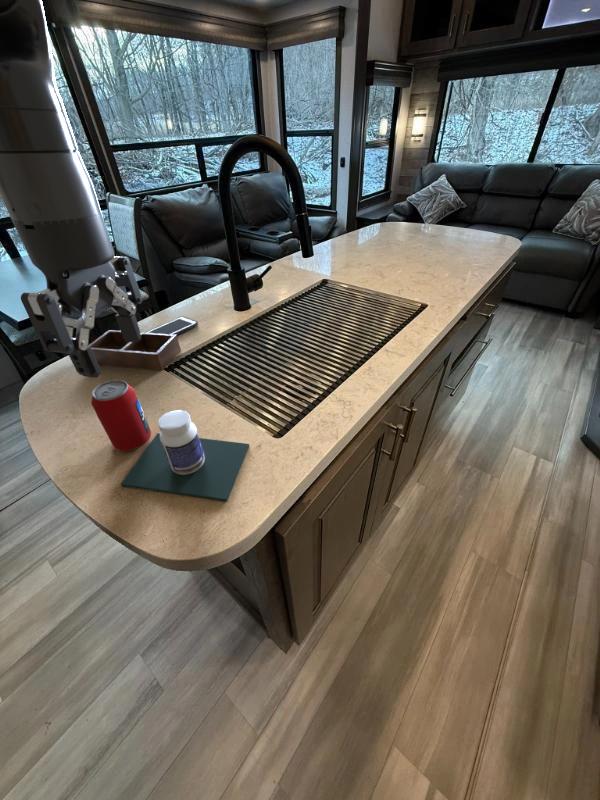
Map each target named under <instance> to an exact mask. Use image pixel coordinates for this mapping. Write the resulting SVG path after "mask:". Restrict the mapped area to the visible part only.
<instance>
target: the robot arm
mask: <svg viewBox="0 0 600 800" xmlns="http://www.w3.org/2000/svg"><path fill="white" fill-rule="evenodd" d="M50 42H51V41H50V38H49V32H48V26H47V21H46V16H45V10H44V6H43V1H42V0H0V199H1V200H2V202H3V204H4V207H5V209H6V211H7V213H8V215H9V217H10V219H11V221H12V224H13V226H14V228H15V230H16V233H17V234H18V236H19V238H20V241H21V243H22V245H23V247H24V249H25V251H26V253H27V255H28V258H29V260H30V261H31V263H32V265H33V266H34V267H35V268H37V269H38V270H39V271H40V272H41V273H42V274H43V276H44V277H45V281H46V289H43V290H40V291H38V292H26V291H25V292H23V293H22V294H21V295H20V300H21V303H22V306H23V308H24V310H25V312H26V314H27V316H28V318H29V320H30V323H31V325H32V327H33V329H34V331H35V333H36V335H37V337H38V340H39V341H40V345H41V346H42V348H43V350H44V351H45V352H49V353H52V352H53V353H61V354H62V353H63V354H67V355H68V356H69V359H70V361H71V363H72V364H73V367H74V369H75V371H76V373H77V374H78V375H80V376H82V377H86V378H94V379H96V378H97V379H98V377H100V376H101V375H102V369H101V368H100V365H98V363H97V360H96V358H95V356H94V353H93V351H92V349H91V347H88V345H89V339H90V331H91V330H92V329H94V327H95V322H96V321H95V319H96V317H98V316H100V315H101V314H102V313H103V311H104V310H112V311H113V312H114V313H116V314H115V319H116V321H117V324H118V327H119V331H121V333H122V336H123V338H124V340H125V341H127V342H138V341H140V340H141V335H140V332H141V329H140V326H139V324H138V321H137V316H136V313H137V306H138V305H141V304H142V303H143V297H142V293H141V291H140V287H139V285H138V282H137V279H136V276H135V273H134V269H133V267H132V263H131V261H130V259H129V257H128V256H117V255H116V256H115V249H114V247H113V244H112V240H111V237H110V234H109V232H108V228H107V225H106V222H105V219H104V216H103V213H102V210H101V209H102V208H101V207H100V203H99V201H98V197H97V194H96V191H95V188H94V184H93V181H92V179H91V177H90V175H89V172H88V170H87V168H86V166H85V164H84V161H83V159H82V156H81V154H80V152H79V151H78V150H79V149H78V145H77V142H76V139H75V136H74V133H73V129H72V126H71V124H70V120H69V118H68V115H67V112H66V108H65V106H64V103H63V99H62V97H61V95H60V93H59V89H58V87H57V83H56V82H57V81H56V77H55V69H54V59H53V54H52V53H53V52H52V48H51V47H52V46H51V43H50ZM126 287H127V288H128V289H129V291H130V293H128V292H127V288H126ZM72 314H74V315H75V316H78V317H79V318H71V317H72ZM74 329H76V332H75V337H73V335H74Z"/></svg>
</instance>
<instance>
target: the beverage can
mask: <svg viewBox="0 0 600 800" xmlns="http://www.w3.org/2000/svg"><path fill="white" fill-rule="evenodd" d="M91 406H92V408H93V410H94V412H95V414H96V416H97V418H98V419H99V422H100V424H101V425H102V428H103V429H104V430H103V431H104V432H105V434H106V435H107V437H108V439H109V441H110V443H111V445H112V446H113V448H114V449H116V450H118V451H122V452H128V451H133V450H137V449H139V448H141V447H142V446H144V445H145V444H146V443H147V442H148V441H149V440H150V438H151V435H152V430H151V428H150V424H149V423H148V420H147V418H146V415H145V413H144V410H143V408H142V405H141V403H140V399H139V398H138V395H137V392H136V391H135V389H134V388H133V386H131V385H129V384H128V383H127V382H126V381H125V380H123V379H111V380H106V381H104V382H101V383H99V384H98V385H96V387H95V388H93V390H92V391H91Z"/></svg>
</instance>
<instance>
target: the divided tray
mask: <svg viewBox="0 0 600 800" xmlns="http://www.w3.org/2000/svg"><path fill="white" fill-rule="evenodd" d="M140 335H141V340H140V341H138V342H127V341H125V340H124V338H123V336H122V333H121V330H114V329H108V330H107V331H105V332H104V333H103V334H102V335H100V336H99V337H97V338H96V339H94V340H93V341H92V342H91V343H88V347H91V349H92V351H93V353H94V356H95V358H96V360H97V363H98V365H99V366H106V367H107V366H108V367H118V368H119V367H121V368H130V369H141V370H153V371H164V370H165V368H166V367H167V366H168V365H169V364H170V363H171V362H172V360H174V359H175V358H176V356H177V355H178V354H179V353H180V352H181V351H182V349H181V346H180V342H179V338H178V335H171V334H158V333H144V332H143V331H142V332H141V331H140ZM116 347H119V348H120V347H121V348H120V349H115V348H116ZM147 350H157V351H156V352H150V351H147Z"/></svg>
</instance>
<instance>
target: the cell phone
mask: <svg viewBox="0 0 600 800" xmlns="http://www.w3.org/2000/svg"><path fill="white" fill-rule="evenodd" d="M197 326H199V322H198V321H197V320H194V319H191V318H189V317H186V316H183V315H182V316H179V317H176V318H174V319H172V320H169V321H167V322H165V323H163V324H161V325H158V326H156V327H154V328H151V329H149V330H147V331H145V332H144V333H158V334H171V335H177V336H178V335H180V334H182V333H185V332H186V331H189V330H191V329H193V328H194V327H197Z"/></svg>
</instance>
